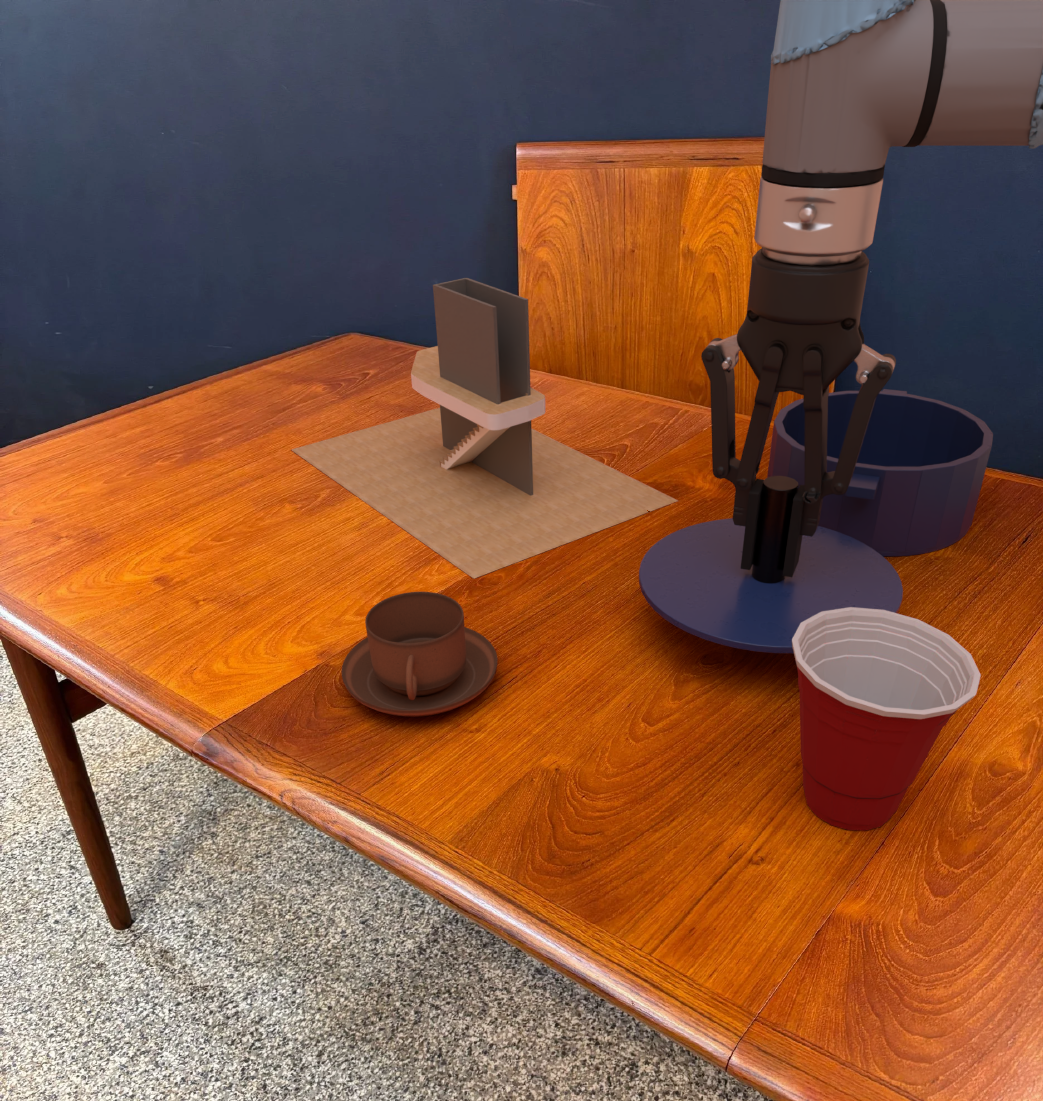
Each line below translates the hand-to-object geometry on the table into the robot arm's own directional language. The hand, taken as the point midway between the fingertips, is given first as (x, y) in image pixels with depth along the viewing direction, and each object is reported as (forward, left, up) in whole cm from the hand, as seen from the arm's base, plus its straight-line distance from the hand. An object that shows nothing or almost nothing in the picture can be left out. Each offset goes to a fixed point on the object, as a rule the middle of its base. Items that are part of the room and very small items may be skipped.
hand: (769, 564), depth 80 cm
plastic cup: (-10, +19, -6) cm, 22 cm away
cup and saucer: (+23, +17, -6) cm, 29 cm away
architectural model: (+36, -20, -6) cm, 42 cm away
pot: (-5, -25, -6) cm, 26 cm away
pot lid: (0, 0, -2) cm, 2 cm away
